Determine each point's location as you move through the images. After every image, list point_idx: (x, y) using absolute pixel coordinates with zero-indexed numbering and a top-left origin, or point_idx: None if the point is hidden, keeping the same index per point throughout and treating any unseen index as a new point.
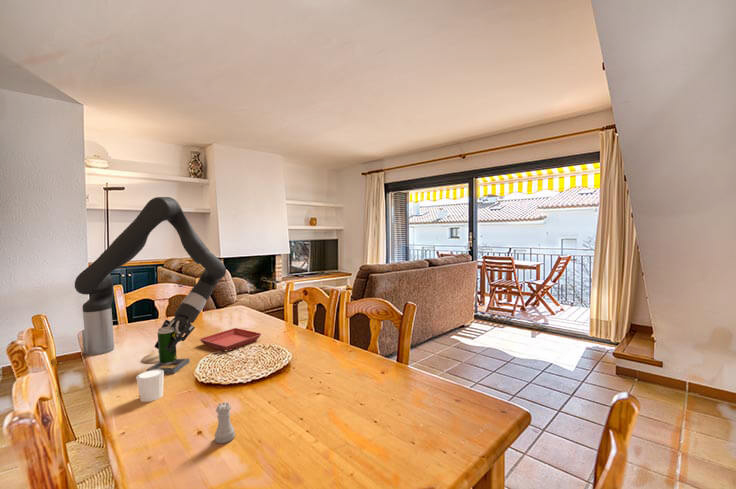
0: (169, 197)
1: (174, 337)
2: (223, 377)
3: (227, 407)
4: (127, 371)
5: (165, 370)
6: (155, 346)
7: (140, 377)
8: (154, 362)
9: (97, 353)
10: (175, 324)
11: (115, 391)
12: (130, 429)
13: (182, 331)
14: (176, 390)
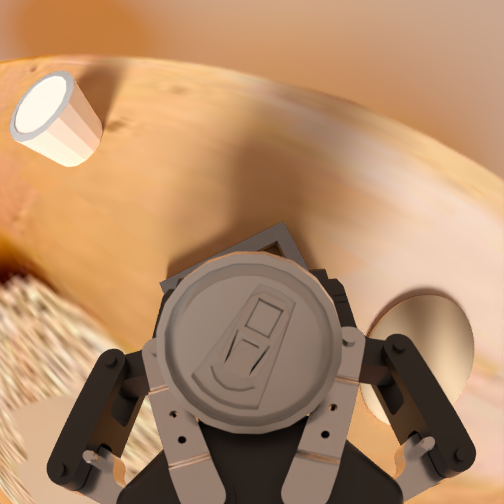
0: None
1: (150, 346)
2: (2, 329)
3: None
4: (389, 206)
5: (197, 265)
6: (313, 270)
7: (51, 79)
8: (382, 318)
9: None
10: (269, 478)
11: (225, 97)
12: (29, 78)
13: (95, 404)
14: (46, 200)
